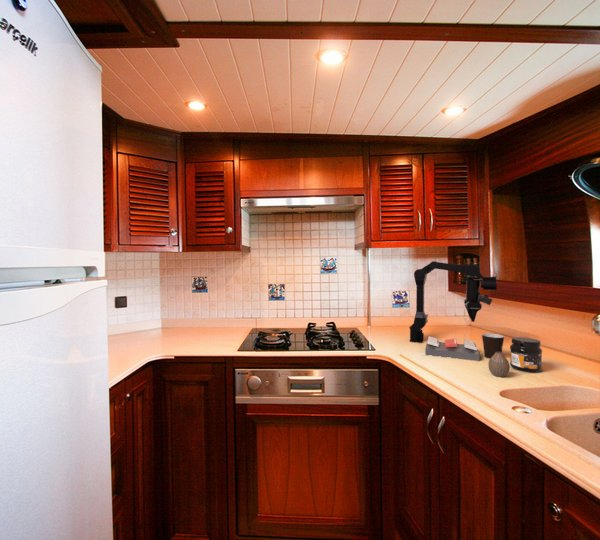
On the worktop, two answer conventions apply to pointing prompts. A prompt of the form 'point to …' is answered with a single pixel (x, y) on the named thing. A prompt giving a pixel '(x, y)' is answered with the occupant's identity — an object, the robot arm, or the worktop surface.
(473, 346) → the rocker right
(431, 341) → the plate
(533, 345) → the supplement container
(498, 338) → the coffee mug
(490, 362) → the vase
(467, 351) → the rocker switch panel
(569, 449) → the worktop surface
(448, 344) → the rocker red
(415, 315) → the robot arm
